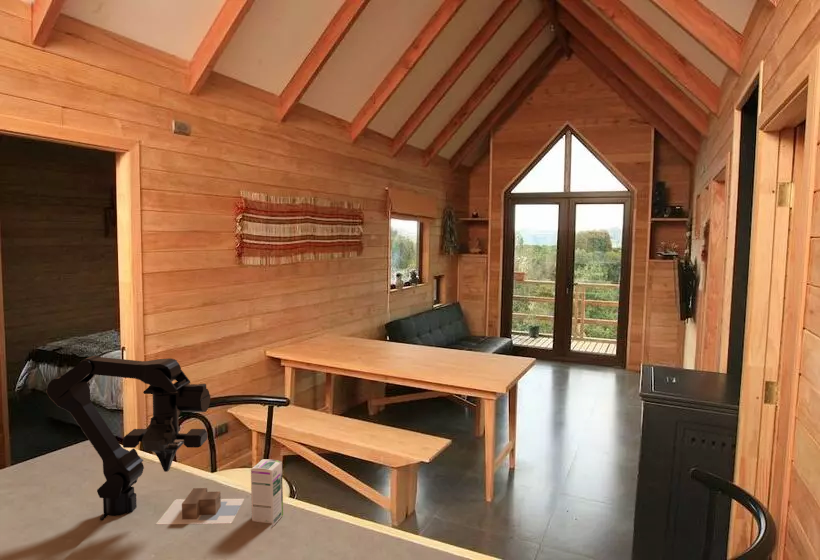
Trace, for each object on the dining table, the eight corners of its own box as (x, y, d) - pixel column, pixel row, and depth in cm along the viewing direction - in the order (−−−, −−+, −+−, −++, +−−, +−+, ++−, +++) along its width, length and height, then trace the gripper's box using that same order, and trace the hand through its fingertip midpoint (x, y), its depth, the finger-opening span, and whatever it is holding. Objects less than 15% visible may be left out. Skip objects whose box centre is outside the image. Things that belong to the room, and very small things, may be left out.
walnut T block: (182, 519, 128) (181, 503, 128) (193, 503, 136) (193, 488, 136) (213, 518, 129) (212, 503, 128) (223, 502, 137) (222, 487, 136)
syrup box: (273, 527, 127) (272, 470, 126) (250, 524, 128) (250, 467, 127) (283, 515, 133) (283, 460, 131) (262, 512, 134) (261, 458, 133)
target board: (155, 528, 126) (155, 524, 126) (175, 503, 138) (175, 499, 138) (231, 527, 127) (231, 523, 127) (244, 502, 139) (244, 498, 139)
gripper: (110, 421, 121) (112, 486, 123) (192, 421, 122) (193, 486, 124) (133, 406, 132) (134, 465, 134) (207, 406, 133) (208, 465, 135)
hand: (166, 471), depth 131 cm, fingers closed
